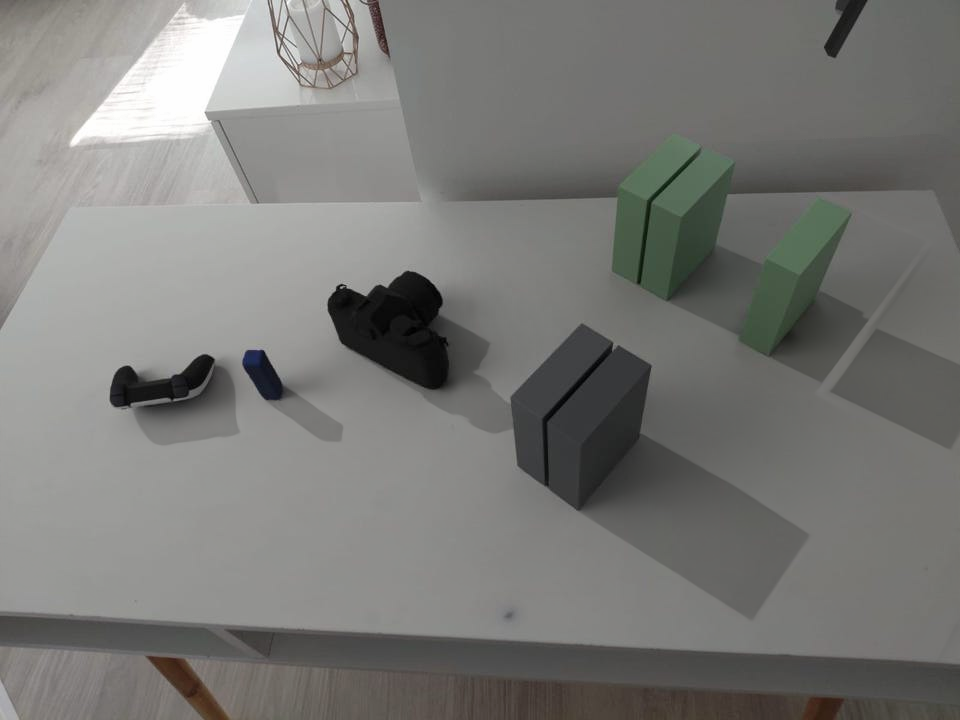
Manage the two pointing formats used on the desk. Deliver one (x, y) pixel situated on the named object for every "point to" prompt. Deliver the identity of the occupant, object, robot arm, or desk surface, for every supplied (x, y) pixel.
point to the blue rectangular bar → (262, 374)
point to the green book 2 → (685, 223)
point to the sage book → (793, 275)
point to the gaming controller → (160, 385)
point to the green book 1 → (645, 202)
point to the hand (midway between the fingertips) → (902, 79)
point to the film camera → (395, 327)
